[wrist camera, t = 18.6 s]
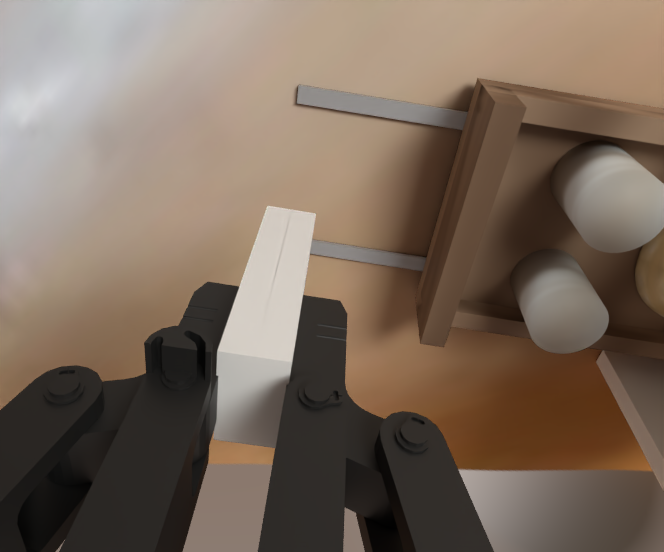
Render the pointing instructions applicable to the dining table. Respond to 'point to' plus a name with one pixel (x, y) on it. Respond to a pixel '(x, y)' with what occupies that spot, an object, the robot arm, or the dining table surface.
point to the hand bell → (652, 274)
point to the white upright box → (617, 368)
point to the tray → (548, 223)
